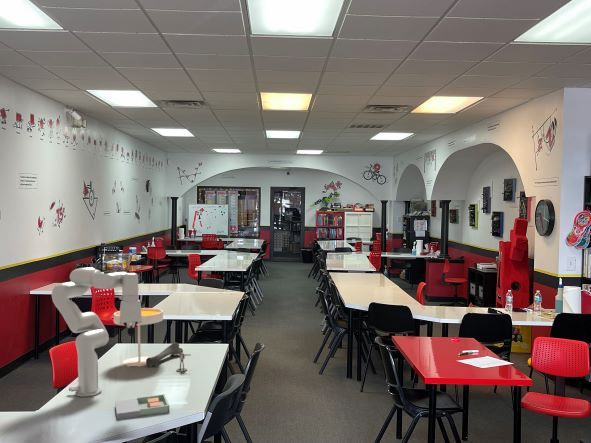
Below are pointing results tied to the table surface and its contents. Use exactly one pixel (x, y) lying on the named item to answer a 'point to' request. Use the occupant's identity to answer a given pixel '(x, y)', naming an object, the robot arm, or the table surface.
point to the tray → (153, 410)
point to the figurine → (182, 361)
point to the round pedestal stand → (147, 318)
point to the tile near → (155, 404)
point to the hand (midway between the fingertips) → (130, 335)
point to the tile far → (152, 401)
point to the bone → (164, 354)
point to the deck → (127, 408)
